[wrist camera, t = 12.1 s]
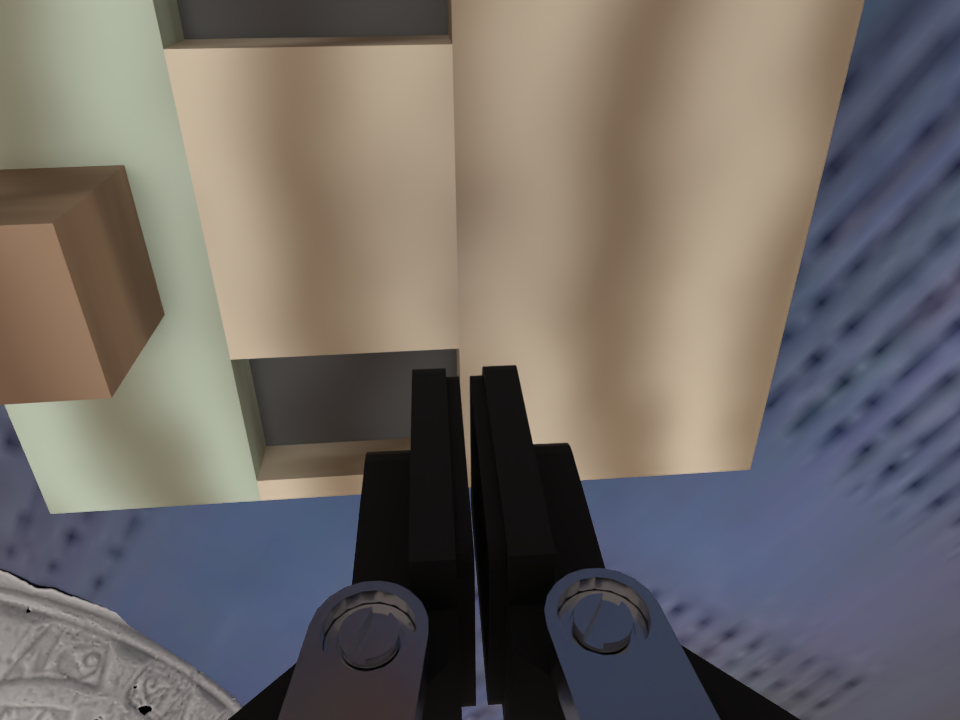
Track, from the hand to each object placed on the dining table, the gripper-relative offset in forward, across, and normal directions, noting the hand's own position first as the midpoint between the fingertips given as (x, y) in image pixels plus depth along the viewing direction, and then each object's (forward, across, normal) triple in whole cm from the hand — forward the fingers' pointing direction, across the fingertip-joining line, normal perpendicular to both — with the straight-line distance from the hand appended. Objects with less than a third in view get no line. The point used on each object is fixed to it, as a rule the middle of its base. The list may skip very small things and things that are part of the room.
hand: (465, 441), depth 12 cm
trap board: (+15, +2, +1) cm, 15 cm away
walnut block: (+12, +12, +2) cm, 17 cm away
